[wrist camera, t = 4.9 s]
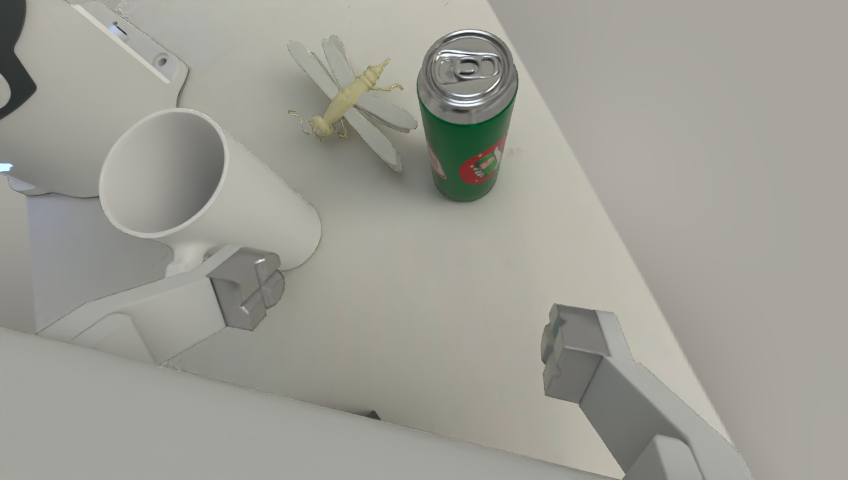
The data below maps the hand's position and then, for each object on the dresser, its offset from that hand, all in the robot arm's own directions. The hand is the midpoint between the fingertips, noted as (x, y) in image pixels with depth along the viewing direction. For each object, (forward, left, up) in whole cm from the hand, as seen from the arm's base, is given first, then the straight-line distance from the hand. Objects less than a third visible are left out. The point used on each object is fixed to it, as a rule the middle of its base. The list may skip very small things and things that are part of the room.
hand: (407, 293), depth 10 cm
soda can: (-7, +9, -16) cm, 19 cm away
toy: (-17, +6, -16) cm, 24 cm away
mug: (-12, -6, -16) cm, 21 cm away
